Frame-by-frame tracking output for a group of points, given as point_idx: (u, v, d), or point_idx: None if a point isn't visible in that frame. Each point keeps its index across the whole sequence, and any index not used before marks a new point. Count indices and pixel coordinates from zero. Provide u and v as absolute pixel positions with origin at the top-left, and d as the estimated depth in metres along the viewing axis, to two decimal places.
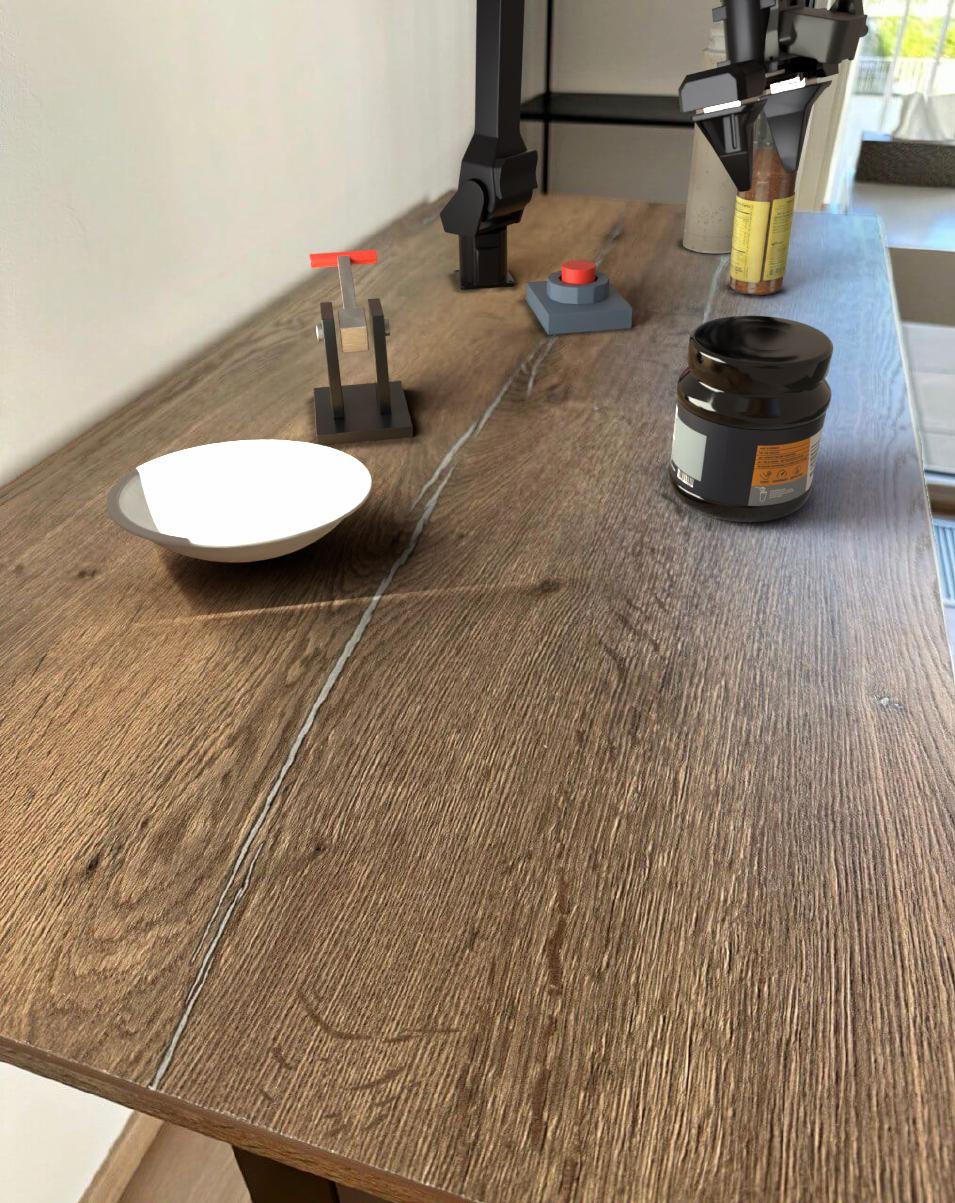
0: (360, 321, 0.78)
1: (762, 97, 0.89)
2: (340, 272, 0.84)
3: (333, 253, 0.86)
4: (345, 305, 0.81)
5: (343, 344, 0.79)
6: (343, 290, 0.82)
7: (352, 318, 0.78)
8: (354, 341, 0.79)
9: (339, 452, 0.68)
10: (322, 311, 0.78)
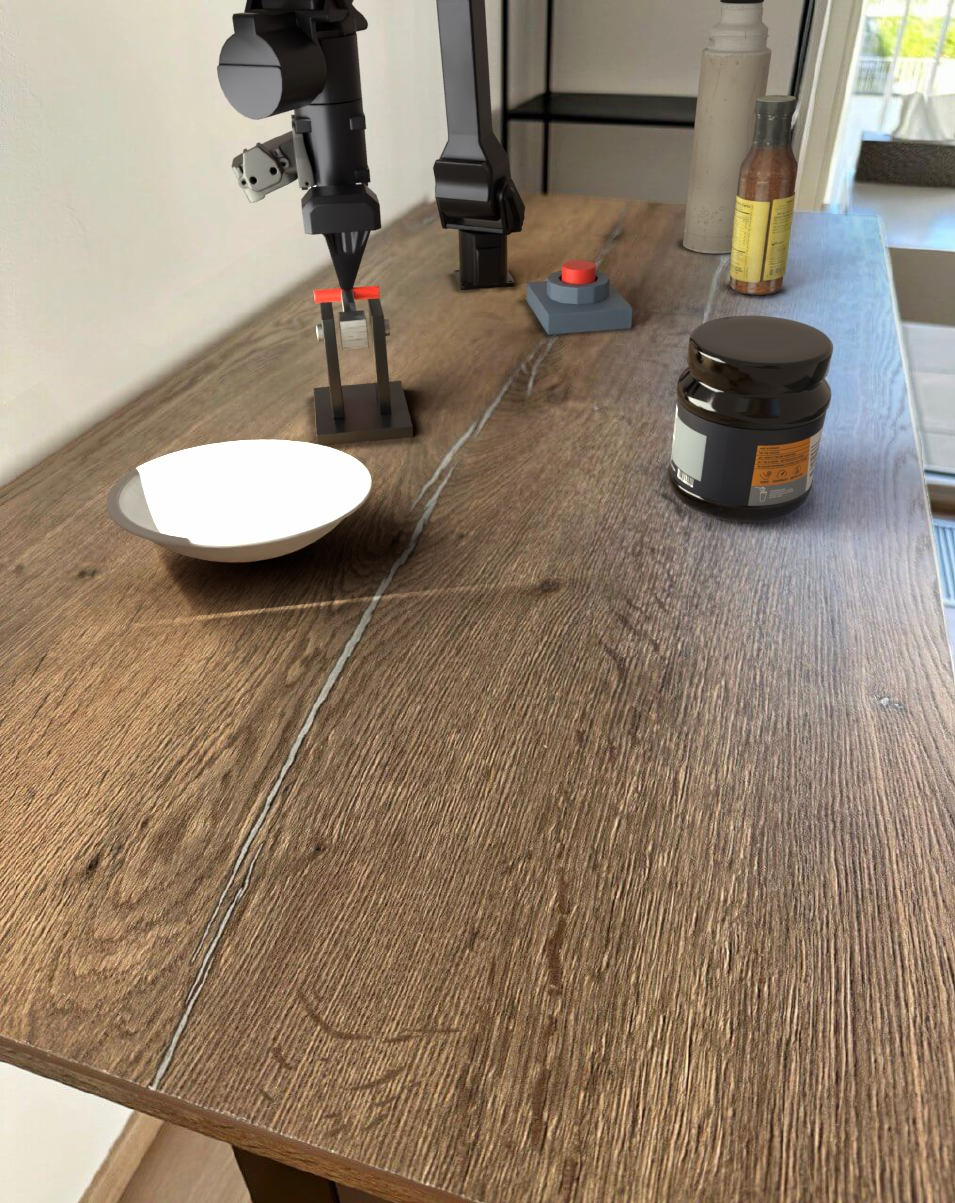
0: (359, 317, 0.78)
1: None
2: (343, 298, 0.86)
3: (337, 288, 0.88)
4: None
5: (343, 340, 0.78)
6: (345, 307, 0.83)
7: (352, 316, 0.79)
8: (354, 336, 0.78)
9: (339, 452, 0.68)
10: (322, 311, 0.78)
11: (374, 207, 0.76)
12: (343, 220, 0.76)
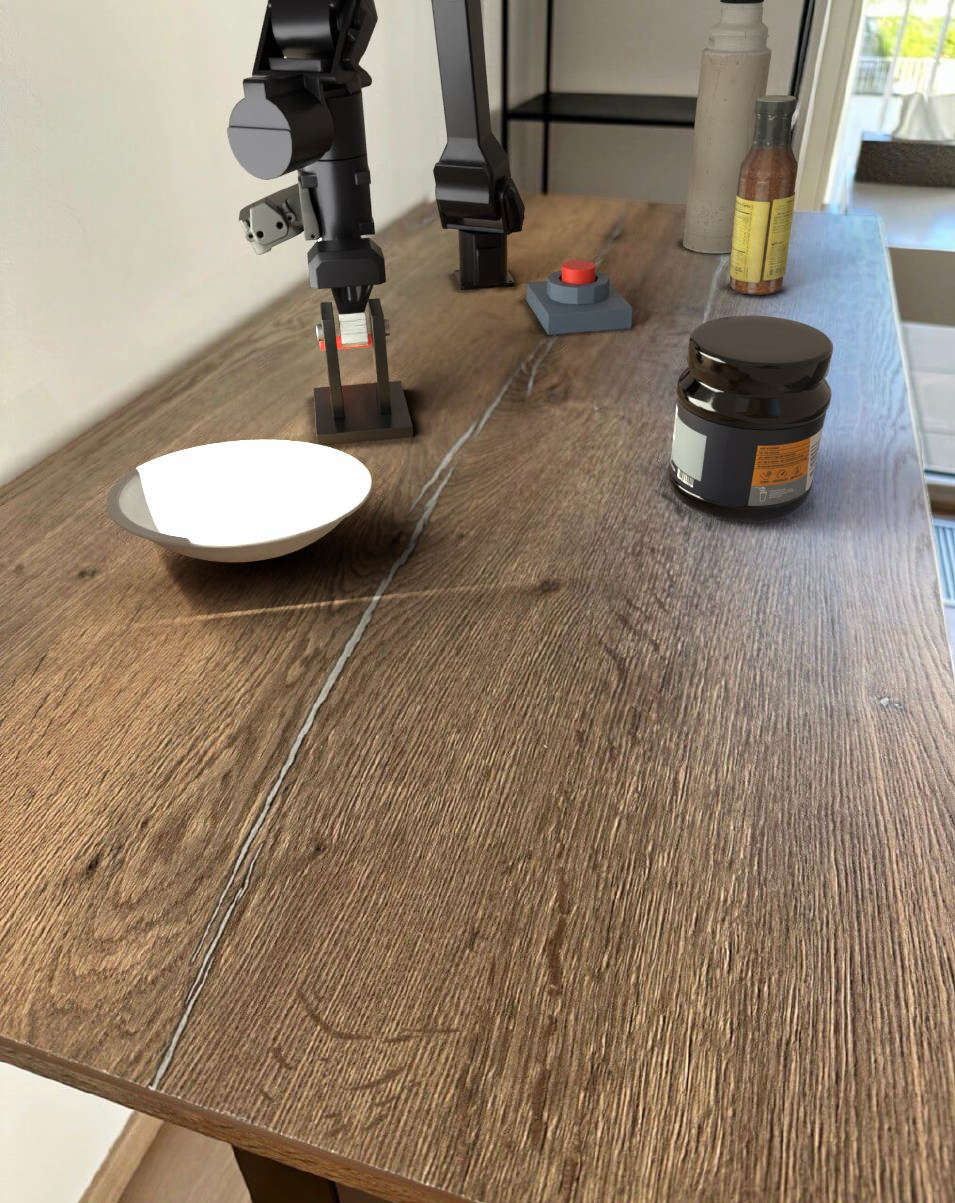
0: None
1: None
2: None
3: None
4: None
5: (342, 333, 0.78)
6: None
7: None
8: (353, 330, 0.78)
9: (339, 452, 0.68)
10: (322, 311, 0.78)
11: (379, 262, 0.77)
12: (348, 275, 0.77)
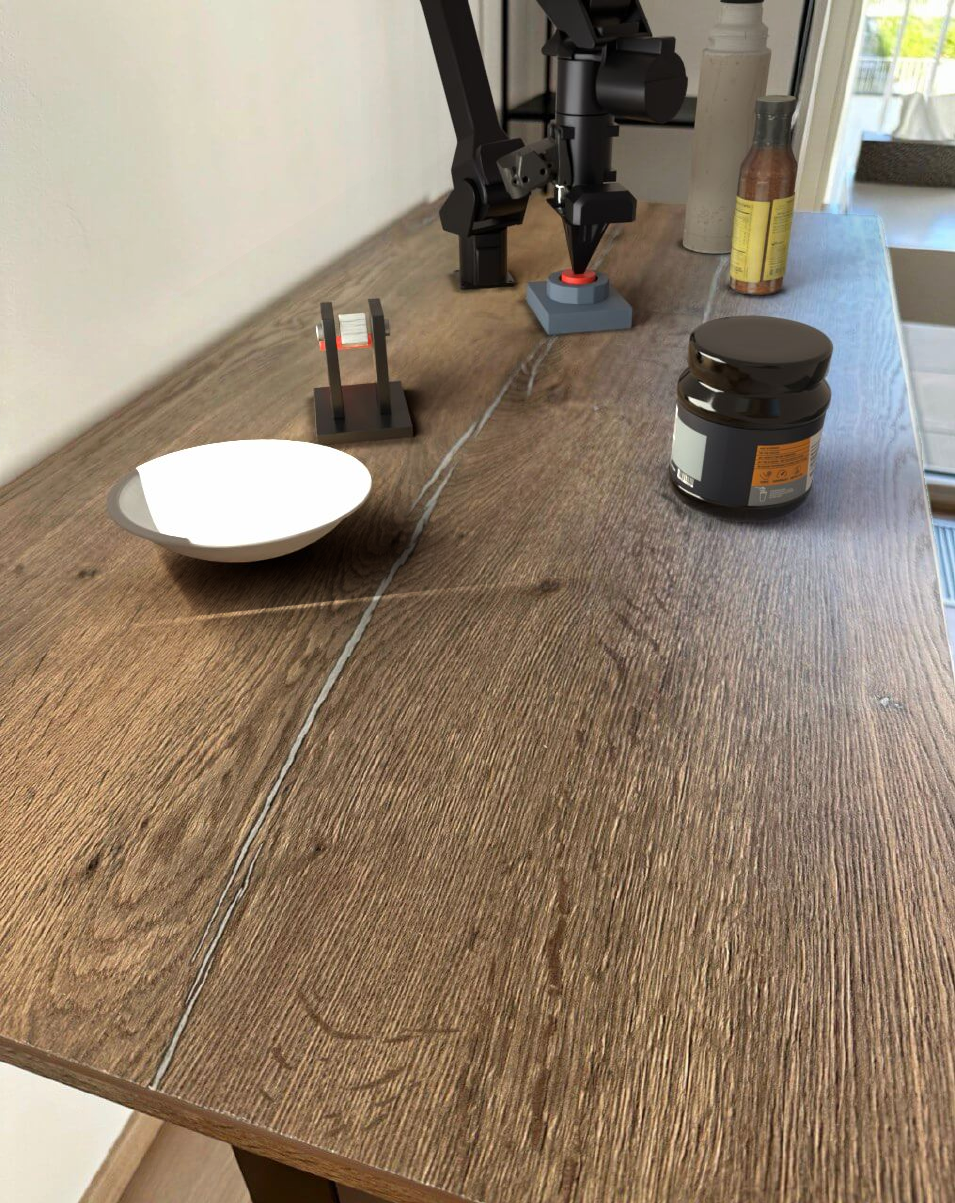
0: None
1: None
2: None
3: None
4: None
5: (342, 333, 0.78)
6: None
7: None
8: (353, 330, 0.78)
9: (339, 452, 0.68)
10: (322, 311, 0.78)
11: (633, 202, 0.90)
12: (607, 213, 0.90)
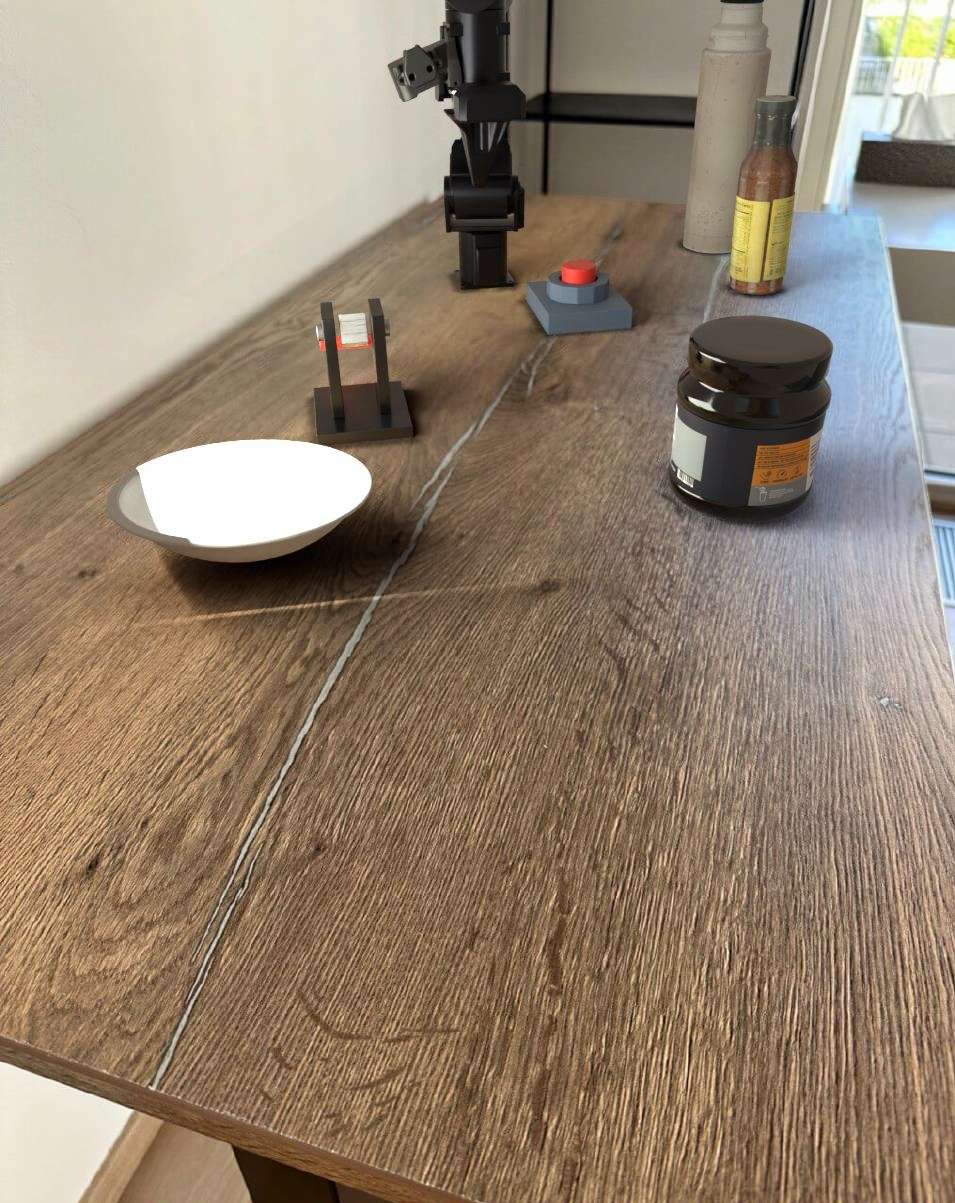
0: None
1: None
2: None
3: None
4: None
5: (342, 333, 0.78)
6: None
7: None
8: (353, 330, 0.78)
9: (339, 452, 0.68)
10: (322, 311, 0.78)
11: (521, 97, 0.86)
12: (494, 108, 0.86)
